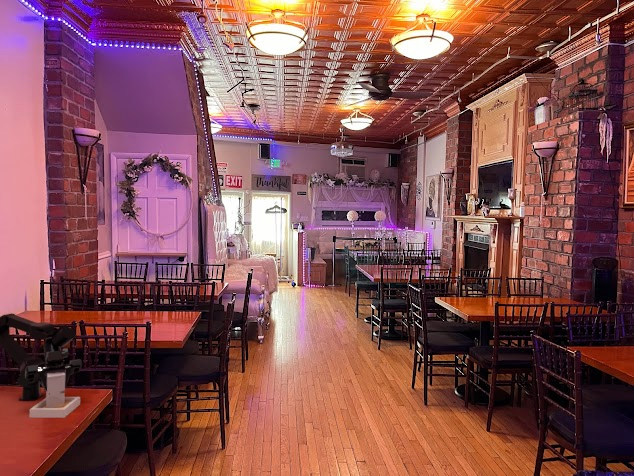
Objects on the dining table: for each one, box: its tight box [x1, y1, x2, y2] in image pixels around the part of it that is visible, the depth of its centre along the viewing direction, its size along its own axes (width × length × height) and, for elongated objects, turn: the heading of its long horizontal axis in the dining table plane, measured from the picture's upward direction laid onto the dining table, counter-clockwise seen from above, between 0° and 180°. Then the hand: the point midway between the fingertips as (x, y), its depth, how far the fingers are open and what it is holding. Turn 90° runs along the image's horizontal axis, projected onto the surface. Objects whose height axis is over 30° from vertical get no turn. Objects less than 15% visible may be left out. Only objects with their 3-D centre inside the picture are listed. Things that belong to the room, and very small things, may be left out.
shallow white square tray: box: [29, 396, 81, 419], centre depth 176 cm, size 12×12×3 cm
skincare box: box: [45, 371, 66, 408], centre depth 176 cm, size 6×4×12 cm
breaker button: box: [43, 402, 70, 408], centre depth 176 cm, size 8×8×1 cm
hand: (56, 389), depth 175 cm, fingers closed on skincare box, 6 cm apart
